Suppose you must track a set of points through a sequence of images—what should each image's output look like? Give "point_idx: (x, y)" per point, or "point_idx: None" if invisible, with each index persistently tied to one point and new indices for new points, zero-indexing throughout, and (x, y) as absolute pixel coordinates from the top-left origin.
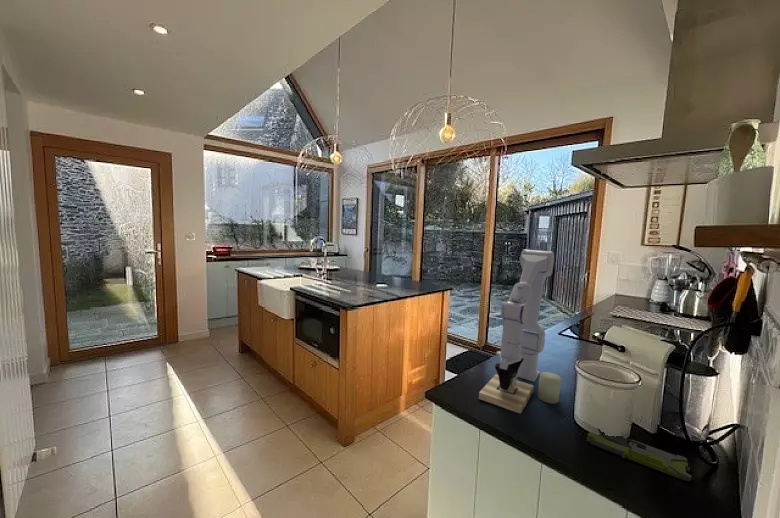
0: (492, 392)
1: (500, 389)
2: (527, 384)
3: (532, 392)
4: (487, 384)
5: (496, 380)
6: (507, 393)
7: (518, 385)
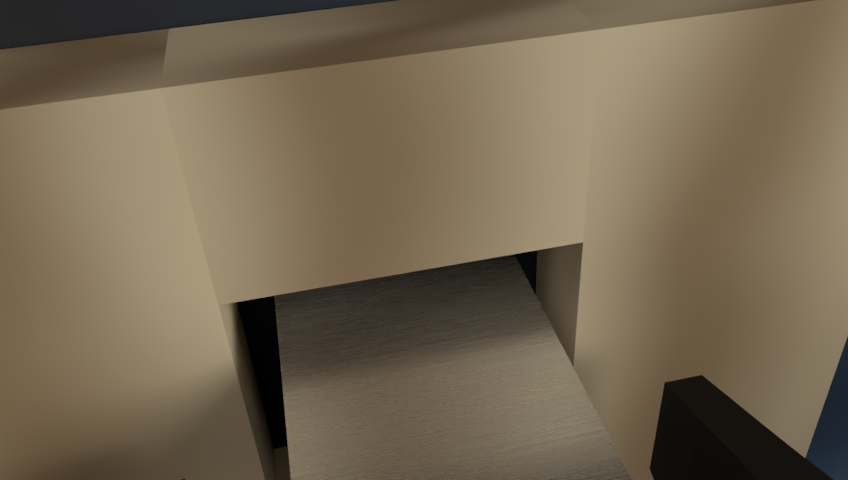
0: (12, 331)
1: (281, 361)
2: None
3: None
4: (278, 96)
5: (635, 140)
6: (245, 471)
7: None
